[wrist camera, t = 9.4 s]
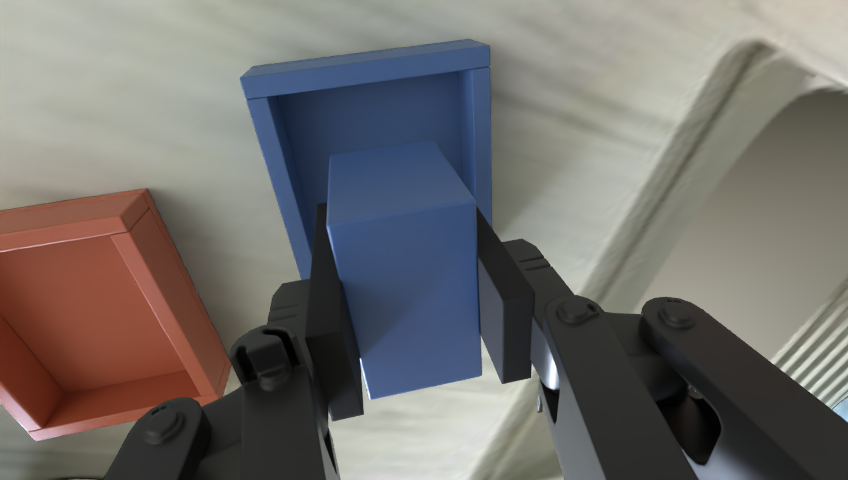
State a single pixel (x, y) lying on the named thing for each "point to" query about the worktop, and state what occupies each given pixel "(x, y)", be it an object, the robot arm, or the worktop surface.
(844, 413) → the drinking glass
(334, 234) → the blue rectangular block
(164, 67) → the worktop surface
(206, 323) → the tray rust
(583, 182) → the worktop surface
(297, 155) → the tray blue
